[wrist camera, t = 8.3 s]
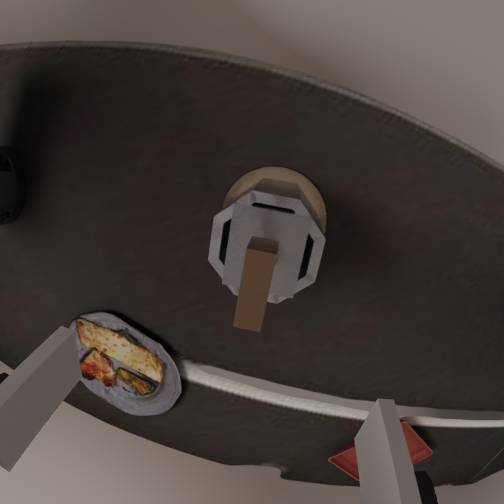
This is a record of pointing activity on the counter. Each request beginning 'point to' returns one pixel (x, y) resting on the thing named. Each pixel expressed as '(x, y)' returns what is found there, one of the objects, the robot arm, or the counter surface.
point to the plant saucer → (348, 458)
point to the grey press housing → (271, 229)
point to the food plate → (124, 364)
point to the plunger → (256, 279)
